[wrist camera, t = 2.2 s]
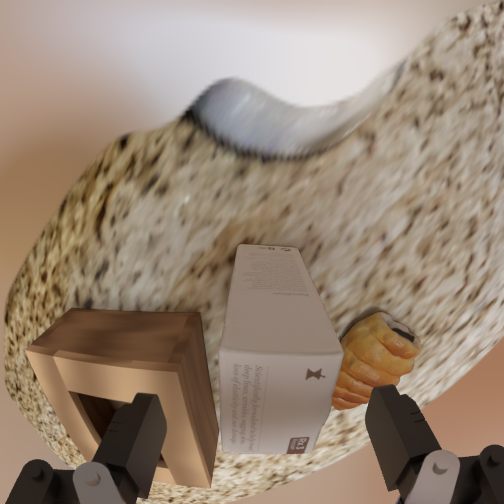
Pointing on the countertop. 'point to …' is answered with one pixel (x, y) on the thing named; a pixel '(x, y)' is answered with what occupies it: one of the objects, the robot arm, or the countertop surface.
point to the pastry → (373, 359)
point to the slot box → (132, 382)
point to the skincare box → (275, 355)
